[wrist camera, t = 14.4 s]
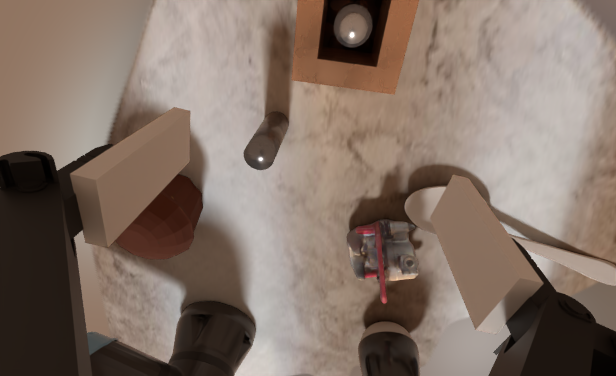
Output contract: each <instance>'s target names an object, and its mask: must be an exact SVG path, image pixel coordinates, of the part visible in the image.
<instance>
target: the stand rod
mask: <svg viewBox="0 0 616 376" xmlns="http://www.w3.org/2000/svg"><path fill="white" fill-rule="evenodd" d="M288 126H289V123H288V120H287V118H286V116H285V115H283V114H282V113H280V112H271V113H269V114H268V115H267V116H266V118H265V119H264V121H263V122H262V124H261V125H260V127H259V128H258V130H257V131H256V133H255V134H254V136H253V137H252V139H251V140H250V142H249V144H248V145H247V147H246V148H245V150H244V158H245V161H246V162H247V164H248V165H249V166H251V167H252V168H254V169H257V170H265V169H267V168H269V167H270V166H271V165H272V164H273V162H274V159H275V157H276V155H277V152H278V150H279V148H280V145H281V143H282V141H283V139H284V136H285V134H286V132H287V129H288Z"/></svg>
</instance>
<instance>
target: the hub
mask: <svg viewBox="0 0 616 376" xmlns="http://www.w3.org/2000/svg"><path fill="white" fill-rule="evenodd" d="M381 3H382V0H328V8H327V16H326V24H325V32H324V40H323V47H328V48H336V49H343V50H351V51H358V52H365V53H371V51H372V47H373V42H374V37H375V32H376V27H377V22H378V17H379V12H380V8H381Z"/></svg>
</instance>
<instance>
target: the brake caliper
mask: <svg viewBox="0 0 616 376" xmlns="http://www.w3.org/2000/svg"><path fill="white" fill-rule="evenodd" d="M414 229H415V226H414V225H413V224H410V223H407V222H402V221H392V220H390V219H382V220H377V221H376V222H374V223H372V224H368V225H365V226H357V227H356V228H355V229H353V230H352V231H350V232H349V233H348V234H347V245H348V248H349V257H350V264H351V266H352V268H353V270H354V272H355V275H356V277H357V278H358V279H359V280H364V279H365V278H368V277H377V280H378V281H379V283H380V298H381V301H382V302H383V303H386V302H387V295H386V287H385V285H386V283H385V281H387V280H389V281H397V280H403V279H414V278H415V277H416V276H417V275H418V273H419V270H418V269H417V268H418V265H419V263H418V260H417V258H416V255H415V250H414V246H413V244H411V242H410V241H409V234H408V232H409V231H412V230H414Z"/></svg>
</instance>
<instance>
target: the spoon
mask: <svg viewBox="0 0 616 376" xmlns="http://www.w3.org/2000/svg"><path fill="white" fill-rule="evenodd" d="M446 187H447V186H433V187H427V188H423V189H420V190H418V191H415V192H414V193H412V194H411V195H410V196H409V197H408V198H407V200H406V202H405V212H406V214H407V216H408V217H409V219H410V220H411V221H412V222H413V223H414V224H415V225H416V226H417V227H419V228H420V229H422V230H424V231H426V232H429V233H432V234H436V232H435V229H434V227H433V224H432V222H431V219H430V217H431V215H432V213H433V211H434V209H435V208H436V206H437V204H438V202H439V200H440V198H441V196H442V195H443V193H444V191H445V189H446ZM484 201H485V200H484ZM485 202H486V201H485ZM436 235H437V234H436ZM509 236H510V237H511V238H514V239H515V240H516V241H517V242H518V243H519V244H520V245H522V246H523V247H524V248H525V249H526V250H528V251H531V252H533V253H535V254H538V255H540V256H543V257H545V258H548V259H550V260H553V261H555V262H557V263H560V264H562V265H564V266H567V267H569V268H571V269H573V270H575V271H577V272H579V273H581V274H583V275H585V276H587V277H589V278H591V279H594V280H596V281H599V282H602V283H605V284H608V285H616V265H614V264H612V263H610V262H608V261H605V260H602V259H598V258H593V257H589V256H585V255H581V254H578V253H574V252H570V251H567V250H564V249H560V248H557V247H553V246H550V245H546V244H543V243H539V242H536V241H532V240H529V239H525V238H521V237H518V236H514V235H511V234H509Z"/></svg>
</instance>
